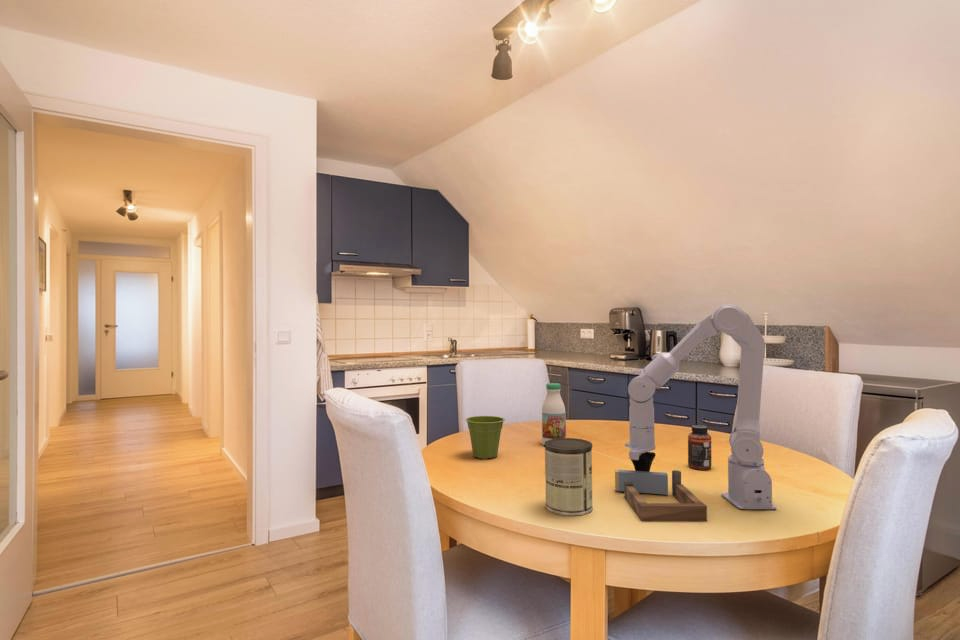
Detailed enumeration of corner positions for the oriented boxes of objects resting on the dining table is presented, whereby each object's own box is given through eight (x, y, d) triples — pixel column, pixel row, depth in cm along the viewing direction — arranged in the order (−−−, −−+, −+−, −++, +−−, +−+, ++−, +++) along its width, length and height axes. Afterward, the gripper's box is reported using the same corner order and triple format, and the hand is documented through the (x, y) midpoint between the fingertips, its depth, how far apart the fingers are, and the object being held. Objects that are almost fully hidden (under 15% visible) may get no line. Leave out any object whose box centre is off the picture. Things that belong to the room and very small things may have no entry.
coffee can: (541, 499, 121) (541, 438, 121) (586, 499, 121) (586, 437, 121) (549, 516, 111) (548, 449, 111) (598, 515, 111) (597, 448, 111)
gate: (667, 491, 125) (667, 472, 125) (667, 494, 123) (667, 475, 123) (615, 488, 128) (615, 469, 128) (615, 490, 126) (615, 471, 126)
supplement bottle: (713, 471, 142) (713, 428, 142) (690, 470, 144) (690, 428, 144) (708, 465, 148) (708, 424, 148) (686, 464, 149) (686, 423, 149)
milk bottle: (537, 443, 175) (537, 383, 175) (557, 441, 178) (556, 381, 178) (550, 449, 168) (549, 385, 168) (570, 446, 171) (570, 384, 171)
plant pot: (511, 459, 156) (511, 420, 156) (474, 463, 152) (473, 424, 152) (495, 450, 167) (495, 414, 167) (460, 453, 163) (459, 417, 163)
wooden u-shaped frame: (707, 520, 108) (707, 493, 108) (641, 520, 108) (641, 493, 108) (679, 493, 124) (679, 470, 124) (622, 493, 125) (622, 470, 125)
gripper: (633, 419, 136) (634, 472, 136) (616, 430, 124) (616, 488, 124) (662, 422, 132) (662, 477, 132) (646, 433, 120) (647, 493, 120)
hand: (642, 483), depth 128 cm, fingers closed
